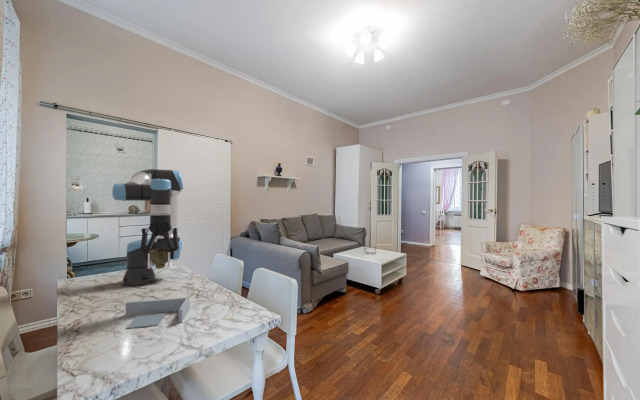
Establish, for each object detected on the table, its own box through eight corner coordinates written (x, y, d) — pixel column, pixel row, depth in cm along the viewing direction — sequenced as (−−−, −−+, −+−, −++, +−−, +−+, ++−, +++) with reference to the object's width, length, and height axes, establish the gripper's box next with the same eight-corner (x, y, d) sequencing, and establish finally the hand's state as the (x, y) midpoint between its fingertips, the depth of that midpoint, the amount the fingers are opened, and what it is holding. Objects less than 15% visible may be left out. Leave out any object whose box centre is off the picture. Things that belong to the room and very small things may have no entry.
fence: (127, 314, 102) (127, 302, 102) (189, 308, 108) (190, 296, 108) (110, 330, 90) (110, 316, 90) (182, 322, 96) (182, 309, 96)
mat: (138, 316, 100) (138, 315, 100) (166, 313, 103) (166, 312, 103) (126, 329, 91) (126, 327, 91) (157, 325, 93) (157, 324, 93)
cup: (158, 270, 104) (158, 251, 104) (145, 269, 107) (146, 250, 107) (174, 266, 111) (174, 248, 111) (162, 264, 114) (162, 247, 114)
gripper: (130, 215, 103) (129, 271, 103) (183, 214, 108) (182, 267, 108) (137, 214, 110) (137, 266, 110) (187, 213, 116) (187, 263, 115)
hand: (159, 267), depth 109 cm, fingers closed on cup, 7 cm apart
